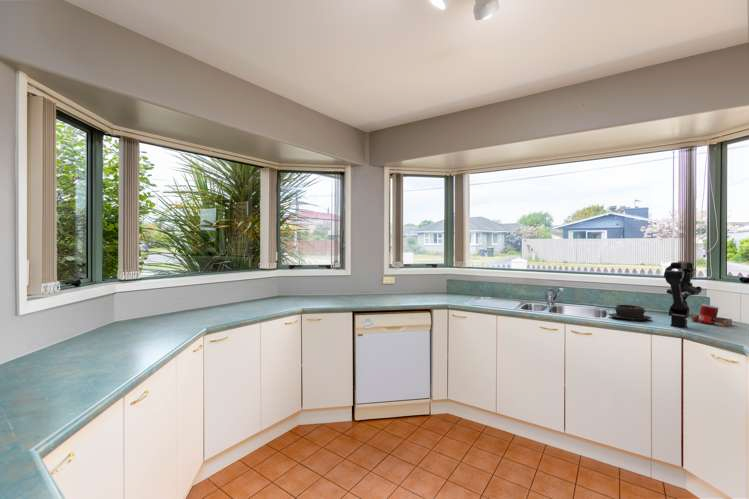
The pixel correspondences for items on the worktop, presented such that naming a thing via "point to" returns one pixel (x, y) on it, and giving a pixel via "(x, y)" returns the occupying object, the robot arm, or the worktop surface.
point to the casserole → (629, 312)
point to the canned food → (708, 314)
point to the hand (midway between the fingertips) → (681, 304)
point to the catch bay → (718, 320)
